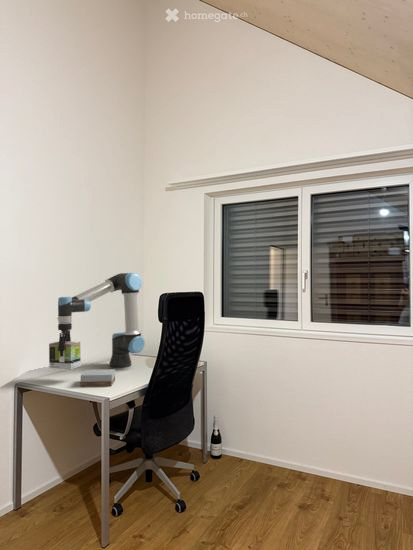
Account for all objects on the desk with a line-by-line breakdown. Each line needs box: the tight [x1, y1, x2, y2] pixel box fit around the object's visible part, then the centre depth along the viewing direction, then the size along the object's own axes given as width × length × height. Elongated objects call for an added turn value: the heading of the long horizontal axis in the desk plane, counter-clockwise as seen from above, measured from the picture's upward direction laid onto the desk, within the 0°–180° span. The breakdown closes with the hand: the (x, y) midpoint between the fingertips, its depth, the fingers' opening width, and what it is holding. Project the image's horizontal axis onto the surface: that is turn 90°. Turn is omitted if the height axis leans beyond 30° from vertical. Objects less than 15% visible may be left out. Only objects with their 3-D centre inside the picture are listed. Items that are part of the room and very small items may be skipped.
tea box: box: [48, 341, 82, 370], centre depth 234 cm, size 15×10×15 cm
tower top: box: [80, 368, 116, 382], centre depth 228 cm, size 14×17×4 cm
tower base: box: [79, 375, 116, 388], centre depth 228 cm, size 14×17×4 cm
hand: (65, 359), depth 234 cm, fingers closed on tea box, 12 cm apart
